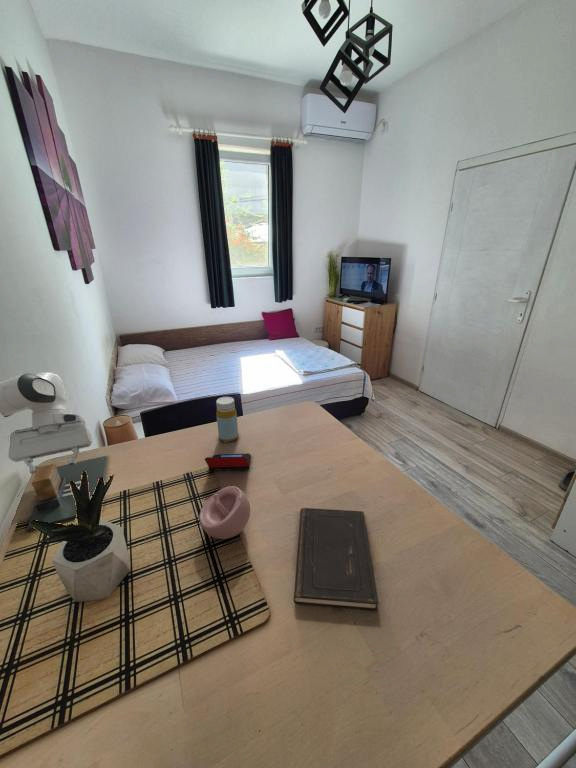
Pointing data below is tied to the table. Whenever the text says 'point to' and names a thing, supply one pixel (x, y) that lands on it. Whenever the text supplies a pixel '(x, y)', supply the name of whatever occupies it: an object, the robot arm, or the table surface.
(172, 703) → the table surface
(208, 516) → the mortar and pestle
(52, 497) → the tan rectangular block
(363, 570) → the hardcover book
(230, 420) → the bottle
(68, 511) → the slate board
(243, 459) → the handheld console
